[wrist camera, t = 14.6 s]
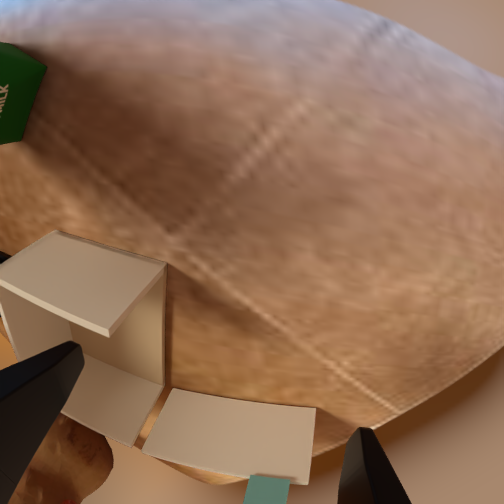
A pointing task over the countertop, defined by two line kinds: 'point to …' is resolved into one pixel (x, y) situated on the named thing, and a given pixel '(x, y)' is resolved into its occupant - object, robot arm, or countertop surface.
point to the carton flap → (237, 441)
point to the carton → (92, 325)
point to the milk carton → (17, 90)
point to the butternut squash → (65, 465)
